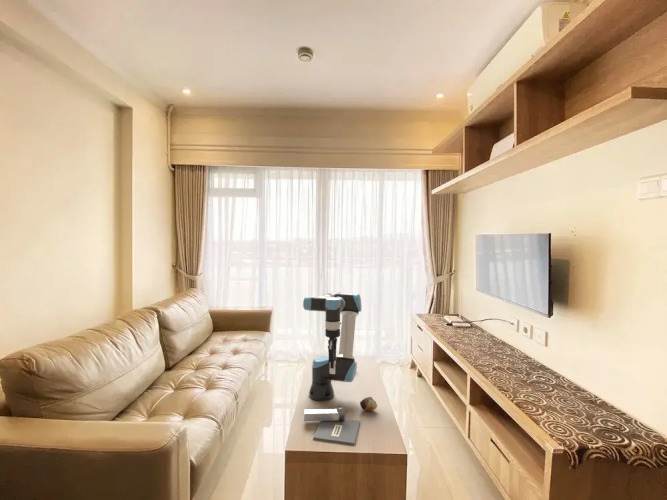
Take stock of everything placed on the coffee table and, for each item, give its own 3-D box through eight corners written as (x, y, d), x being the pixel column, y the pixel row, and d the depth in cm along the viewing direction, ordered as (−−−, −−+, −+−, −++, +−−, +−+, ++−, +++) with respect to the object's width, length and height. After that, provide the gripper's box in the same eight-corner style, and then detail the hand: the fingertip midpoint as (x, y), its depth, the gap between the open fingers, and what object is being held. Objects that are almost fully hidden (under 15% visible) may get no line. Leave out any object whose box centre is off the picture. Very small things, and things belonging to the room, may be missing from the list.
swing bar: (344, 417, 181) (344, 406, 181) (344, 421, 177) (345, 409, 177) (304, 417, 179) (304, 406, 179) (304, 422, 175) (304, 410, 175)
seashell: (376, 408, 193) (376, 394, 193) (377, 413, 188) (377, 399, 187) (359, 408, 194) (360, 394, 193) (360, 413, 188) (360, 399, 188)
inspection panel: (322, 417, 183) (323, 415, 183) (360, 422, 179) (360, 420, 179) (313, 439, 163) (313, 436, 163) (354, 445, 159) (354, 442, 159)
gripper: (337, 332, 167) (337, 379, 169) (341, 325, 180) (341, 368, 181) (322, 331, 168) (322, 378, 170) (327, 324, 181) (327, 367, 183)
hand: (332, 373), depth 176 cm, fingers closed
